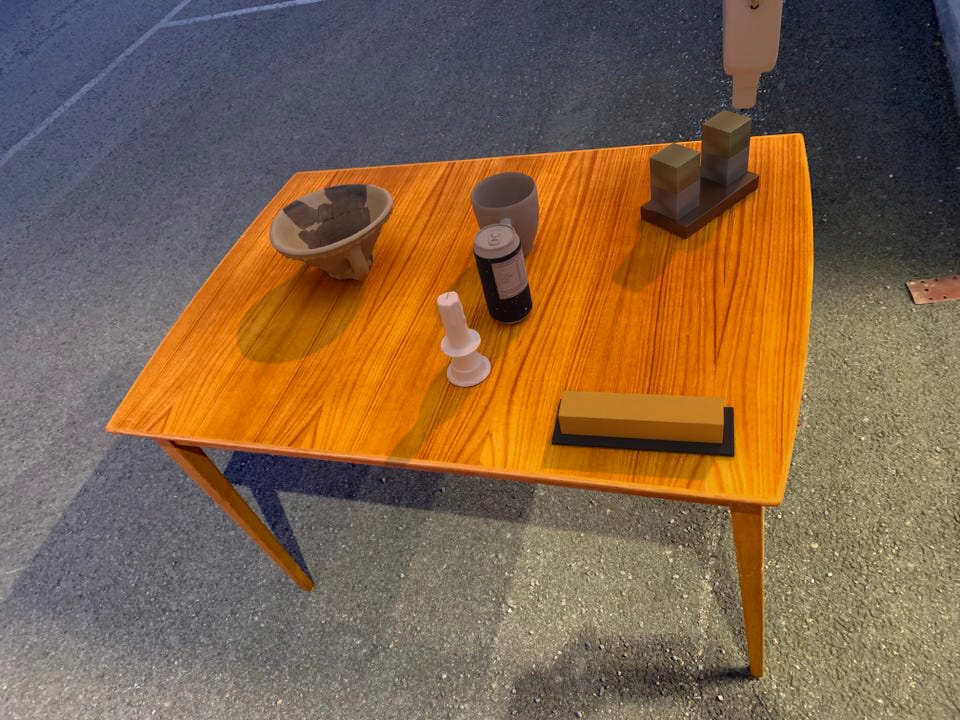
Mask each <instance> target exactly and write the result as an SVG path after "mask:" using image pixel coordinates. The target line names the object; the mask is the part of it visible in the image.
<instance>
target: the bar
mask: <svg viewBox="0 0 960 720" xmlns="http://www.w3.org/2000/svg"><path fill="white" fill-rule="evenodd" d="M560 399H561V404H560V409H559V415H558V417H559V423H560V428H561V433H562V434H574V435H590V436H607V437H623V438H640V439H656V440H673V441H689V442H705V443H722V440H723V427H724V407H725V406H724V403H725V401H724V397H723V396H701V395H700V396H699V395H680V394H679V395H678V394H677V395H676V394H655V393H654V394H653V393H632V392H631V393H629V392H628V393H627V392H608V391H605V392H604V391H579V390H562V395H561V398H560Z"/></svg>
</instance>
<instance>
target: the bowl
mask: <svg viewBox="0 0 960 720" xmlns="http://www.w3.org/2000/svg"><path fill="white" fill-rule="evenodd" d="M393 207H394V198H393V196H392V194H391V193H390V192H389V191H388V190H386V189H385V188H383V187H380V186H378V185H375V184H367V183H345V184H337V185H333V186H328V187H324V188H322V189H318V190H314V191H311V192H309V193H307V194H304V195H302V196H300V197H298V198H297V199H295V200H293V201H292V202H290V203H288V204H287V205H286V206H284V207H283V208H282V209H280V211H279V212H277V214H276V216H275V217H274V218H273V220H272V222H271V224H270V226H269V233H268V238H269V241H270V244H271V246H272V247H273V249H275V251H276V252H278V254H280V255H282V257H285V258H286V259H288V260H289V259H290V260H292V261H298V262H303V263H305V264H308V265H309V266H311V267H315V268H318V269H320V270H321V271H324V272H325V274H326V276H327V275H328V276H329V277H331V279H335V280H338V281H339V280H348V279H351V280H355V281H359V282H360V281H364V280H366V279H367V278H368V277H369V275H370V268H371V266H372V265H373V264H374V255H373V251H374V249H375V247H376V244H377V241H378V239H379V236H380V234H381V231H382V229H383V226H384V225H385V224H386V223H387V222H388V221H389V219H390V217H391V215H392V214H393V210H394V208H393Z"/></svg>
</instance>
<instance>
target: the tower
mask: <svg viewBox="0 0 960 720" xmlns="http://www.w3.org/2000/svg"><path fill="white" fill-rule="evenodd" d="M752 123H753V118H752V117H750V116H746V115H743V114H739V113H736V112H733V111H730V110H726V109H723V110H722V111H719V112H718V113H717V114H715V115H714V116H712V117H710V118H709V119H707V120H706V121H704V122H702V123H701V139H700V141H701V144H700V145H701V146H700V151H699V150H696V149H694V148H690V147H687V146H684V145H682V144H679V143H677V142H672V143H670V144H668V145H667V146H666V147H664V148H662V149H660V150H659V151H658V152H656V153H654V154H653V155H651V156H650V157H649V184H650V185H649V186H650V189H649V191H650V200H648V201H647V202H644V203H643V204H642V205H640V206H639V211H640V212H639V213H640V219H641V220H643V221H645V222H647V223H649V224H652V225H653V226H656V227H658V228H660V229H663V230H665V231H667V232H669V233H671V234H673V235H676V236H678V237H680V238H682V239H683V240H686V239H688V238H690V237H691V236H692V235H694V234H695V233H696V232H698V231H699V230H701V229H702V228H703V227H706V225H708V224H709V223H710V222H712V221H713V220H714V219H716V218H718V217H719V216H720V215H722V214H723V213H724V212H726V211H727V210H729V209H730V208H732V207H733V206H734V205H736V204H737V203H739V202H740V201H741V200H743V199H745V198H746V197H747V196H748V195H750V194H751V193H752V192H754V191H755V190H756V189H758V188H759V186H760V185H759V184H760V176H761V175H760V174H758V173H755V172H753V171H749V161H750V150H751V137H752V136H751V135H752V125H753V124H752Z"/></svg>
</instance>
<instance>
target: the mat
mask: <svg viewBox="0 0 960 720" xmlns="http://www.w3.org/2000/svg"><path fill="white" fill-rule="evenodd" d="M561 399H562V398H560V399H559V402H558V408H557V413H556V417H555V422H554V428H553V433H552V439H551V445H553V446H568V447H584V448H596V449H597V448H598V449H613V450H625V451H627V450H628V451H629V450H630V451H641V452H643V451H644V452H656V453H657V452H659V453H673V454H686V455H687V454H688V455H703V456H718V457H719V456H721V457H731V458H734V457H735V455H736V453H735V408H734V406H724V427H723V440H722V443H705V442H689V441H673V440H656V439H640V438H623V437H607V436H590V435H574V434H562V433H561V428H560V423H559V417H558V415H559V409H560V404H561Z"/></svg>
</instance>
